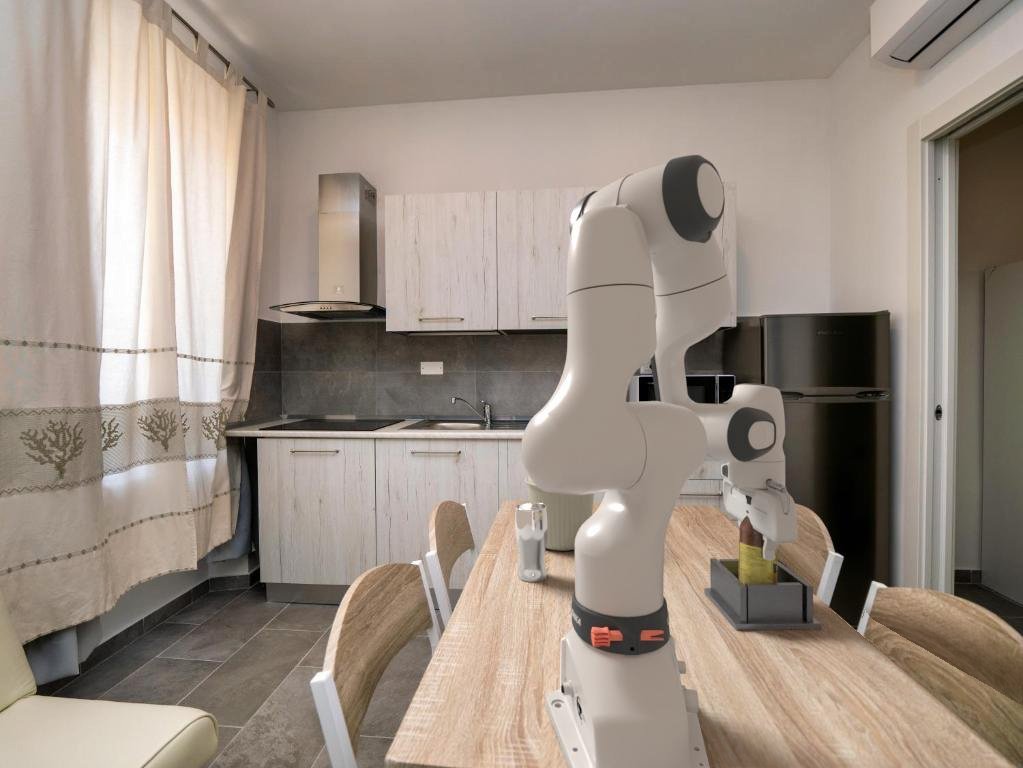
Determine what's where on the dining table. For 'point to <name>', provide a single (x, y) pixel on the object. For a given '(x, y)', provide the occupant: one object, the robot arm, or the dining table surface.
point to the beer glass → (531, 540)
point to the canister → (562, 515)
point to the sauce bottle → (754, 555)
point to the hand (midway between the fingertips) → (757, 551)
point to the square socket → (761, 599)
